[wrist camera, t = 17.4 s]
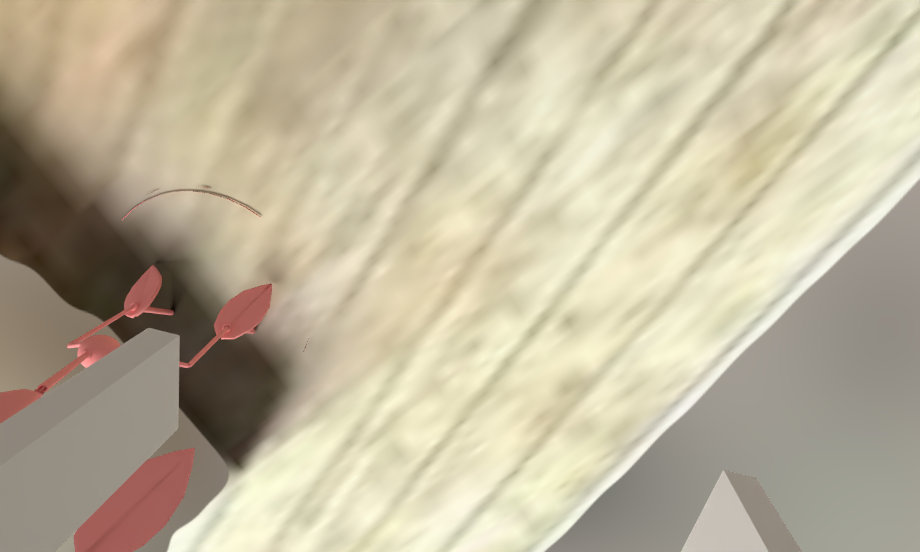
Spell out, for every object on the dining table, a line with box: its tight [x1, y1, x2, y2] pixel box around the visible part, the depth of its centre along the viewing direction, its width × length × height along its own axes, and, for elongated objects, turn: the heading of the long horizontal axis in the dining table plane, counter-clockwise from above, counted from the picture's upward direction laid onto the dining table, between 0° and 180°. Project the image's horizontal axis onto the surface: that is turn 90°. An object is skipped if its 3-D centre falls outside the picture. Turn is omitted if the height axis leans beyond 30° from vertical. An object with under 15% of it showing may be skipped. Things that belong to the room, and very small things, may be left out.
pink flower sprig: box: [0, 186, 309, 552], centre depth 35 cm, size 15×26×35 cm, turn 79°
